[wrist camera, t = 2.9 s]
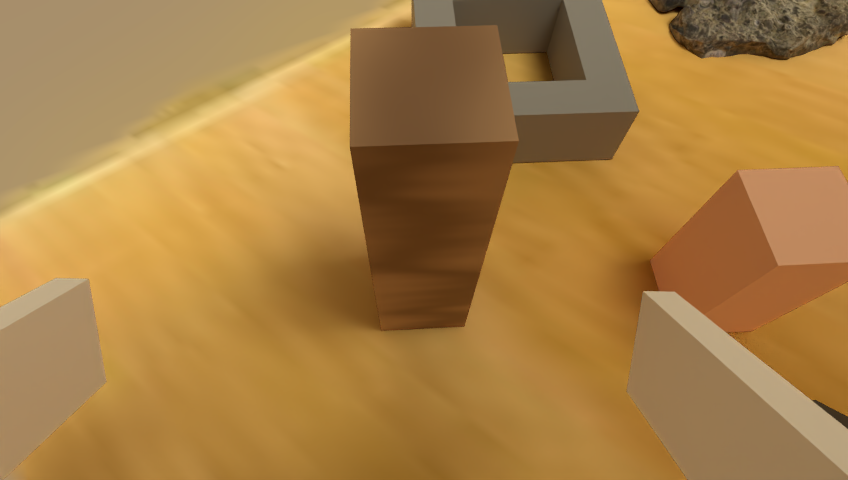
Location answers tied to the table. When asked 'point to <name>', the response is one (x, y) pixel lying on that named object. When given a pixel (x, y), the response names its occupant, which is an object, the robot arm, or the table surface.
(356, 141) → the long peg
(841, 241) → the short peg
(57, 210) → the table surface
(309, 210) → the table surface
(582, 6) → the collar
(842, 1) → the stone slab
